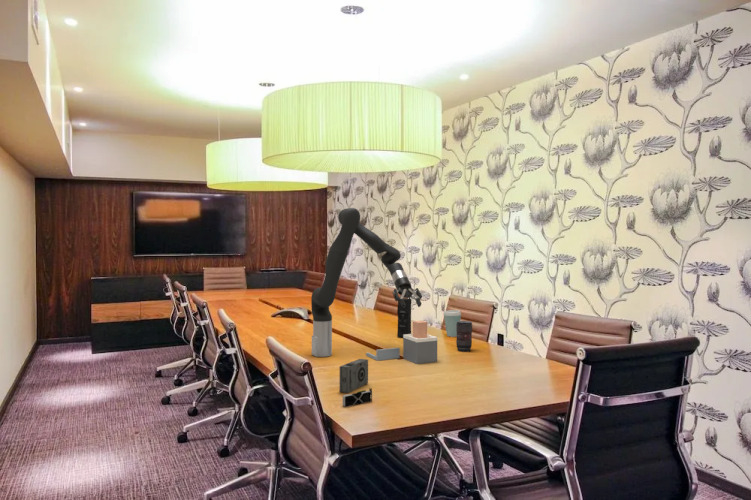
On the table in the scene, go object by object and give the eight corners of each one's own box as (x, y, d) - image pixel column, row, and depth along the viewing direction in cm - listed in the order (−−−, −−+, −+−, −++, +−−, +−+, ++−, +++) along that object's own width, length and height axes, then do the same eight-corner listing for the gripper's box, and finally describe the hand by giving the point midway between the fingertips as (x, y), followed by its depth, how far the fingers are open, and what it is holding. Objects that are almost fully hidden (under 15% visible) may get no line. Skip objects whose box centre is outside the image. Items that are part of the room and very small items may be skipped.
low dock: (377, 360, 254) (377, 350, 253) (366, 355, 265) (366, 345, 264) (399, 358, 259) (399, 347, 259) (387, 353, 270) (387, 343, 270)
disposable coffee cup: (457, 338, 311) (457, 312, 311) (440, 336, 317) (440, 311, 317) (464, 335, 320) (464, 310, 320) (447, 333, 326) (447, 309, 326)
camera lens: (473, 352, 274) (473, 322, 273) (457, 352, 273) (457, 322, 273) (470, 348, 282) (470, 320, 281) (455, 348, 282) (455, 320, 281)
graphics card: (370, 401, 192) (368, 387, 193) (374, 401, 190) (372, 387, 191) (342, 407, 185) (340, 392, 186) (346, 407, 183) (344, 392, 184)
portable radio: (395, 337, 313) (395, 294, 313) (399, 335, 319) (399, 293, 318) (407, 338, 310) (407, 295, 309) (411, 337, 315) (412, 294, 315)
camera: (346, 394, 199) (346, 367, 199) (337, 392, 201) (337, 366, 201) (368, 384, 213) (368, 358, 213) (359, 382, 215) (360, 357, 215)
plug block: (418, 339, 252) (418, 322, 252) (412, 338, 256) (412, 321, 256) (427, 338, 254) (427, 322, 254) (421, 337, 258) (421, 320, 258)
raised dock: (417, 364, 247) (417, 339, 247) (403, 358, 259) (403, 334, 258) (437, 361, 252) (437, 337, 252) (422, 356, 264) (422, 332, 263)
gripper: (391, 276, 266) (402, 302, 256) (416, 275, 272) (427, 300, 262) (386, 286, 271) (396, 311, 260) (410, 285, 277) (422, 310, 267)
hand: (412, 306), depth 261 cm, fingers open, 8 cm apart
